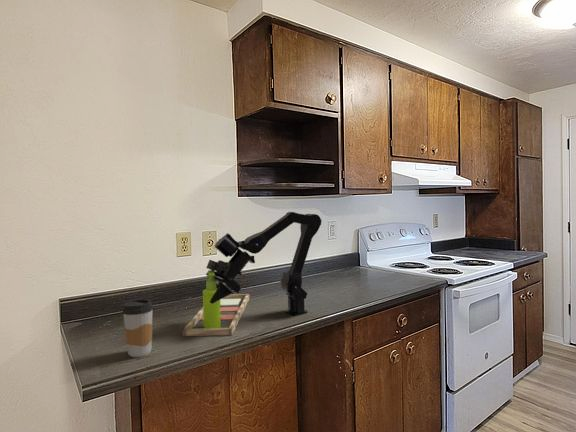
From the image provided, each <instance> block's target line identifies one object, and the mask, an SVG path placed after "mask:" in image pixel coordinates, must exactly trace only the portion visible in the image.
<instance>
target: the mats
mask: <svg viewBox="0 0 576 432" xmlns="http://www.w3.org/2000/svg"><path fill="white" fill-rule="evenodd" d="M220 307H221V313H222V312H224V313H227V312H230V313H232V312H235V313H237V311H238V310H239V308H240V306H233V307H232V306H226V307H225V306H220ZM235 315H236V314H221V321H233V319H234V317H235ZM199 321H204V316H202V317H201V319H200V320H199Z"/></svg>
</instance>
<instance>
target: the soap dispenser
mask: <svg viewBox="0 0 576 432" xmlns="http://www.w3.org/2000/svg"><path fill="white" fill-rule="evenodd" d="M207 272H208V274H209V279H208V278H207V279H206V280H205V281H206V282H205V284H206V286H205V289H203V290H202V307H203V316H204V320H203V328H222V320H221V315H222V312H221V307H222V306H220V300H218V301H216V302H215V303H213V304H212V303H210V300H211V298H212V297H213V295H214V294H215V292H216V291H217V289H218V288H216V280H215V279H214V271H213V270H210V269H208V270H207ZM203 316H202V317H203Z"/></svg>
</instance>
